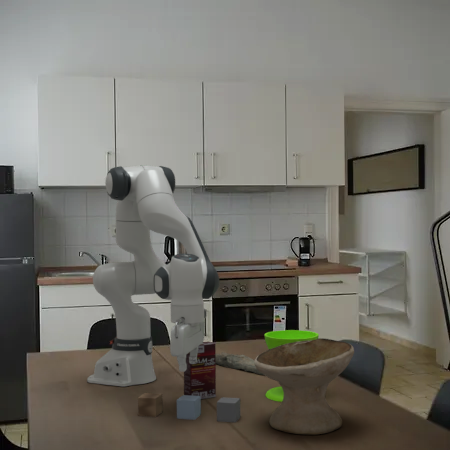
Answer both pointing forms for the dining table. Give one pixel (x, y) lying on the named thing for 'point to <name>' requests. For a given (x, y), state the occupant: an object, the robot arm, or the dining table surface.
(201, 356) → the supplement box
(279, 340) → the wineglass
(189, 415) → the slate blue block
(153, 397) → the walnut block
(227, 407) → the grey block
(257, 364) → the bowl
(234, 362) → the long grey stone
